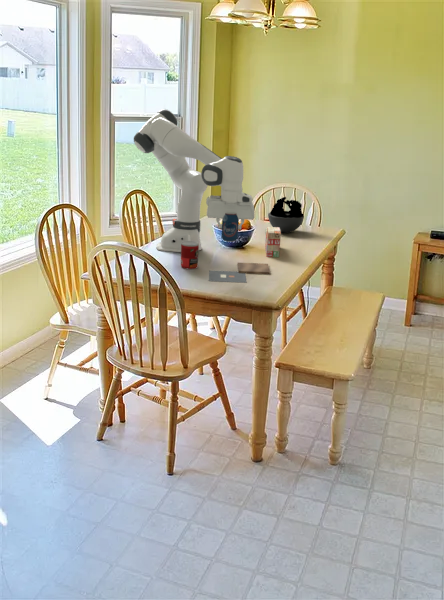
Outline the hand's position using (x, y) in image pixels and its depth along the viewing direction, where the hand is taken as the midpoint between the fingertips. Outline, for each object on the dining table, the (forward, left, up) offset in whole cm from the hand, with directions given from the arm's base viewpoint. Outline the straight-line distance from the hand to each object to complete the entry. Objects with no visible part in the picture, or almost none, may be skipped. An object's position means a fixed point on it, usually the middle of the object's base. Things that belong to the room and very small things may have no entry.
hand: (229, 228), depth 289 cm
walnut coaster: (+12, +13, -21) cm, 28 cm away
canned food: (-17, +13, -21) cm, 30 cm away
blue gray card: (0, 0, -21) cm, 21 cm away
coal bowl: (+34, +92, -21) cm, 100 cm away
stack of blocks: (+23, +47, -21) cm, 57 cm away
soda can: (0, 0, -5) cm, 5 cm away
